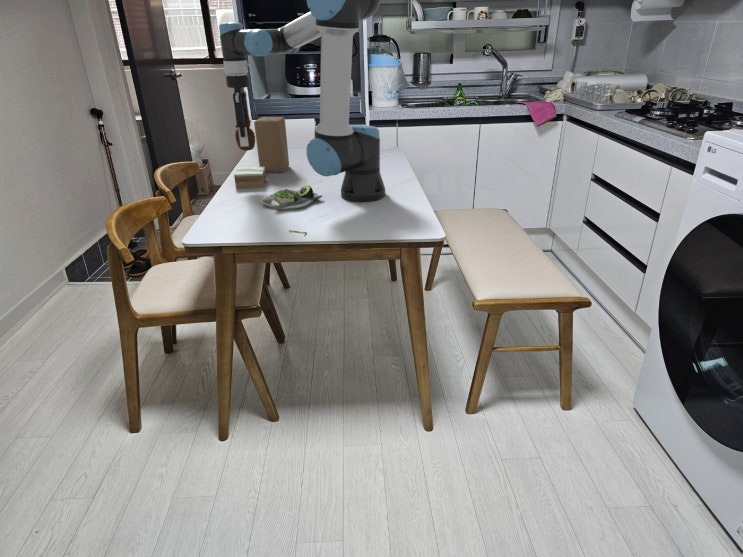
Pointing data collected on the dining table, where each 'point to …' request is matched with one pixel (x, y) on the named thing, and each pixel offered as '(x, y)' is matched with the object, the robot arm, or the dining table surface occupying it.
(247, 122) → the wooden figurine
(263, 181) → the plinth
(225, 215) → the dining table surface
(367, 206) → the dining table surface
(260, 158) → the block
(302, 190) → the salad plate
